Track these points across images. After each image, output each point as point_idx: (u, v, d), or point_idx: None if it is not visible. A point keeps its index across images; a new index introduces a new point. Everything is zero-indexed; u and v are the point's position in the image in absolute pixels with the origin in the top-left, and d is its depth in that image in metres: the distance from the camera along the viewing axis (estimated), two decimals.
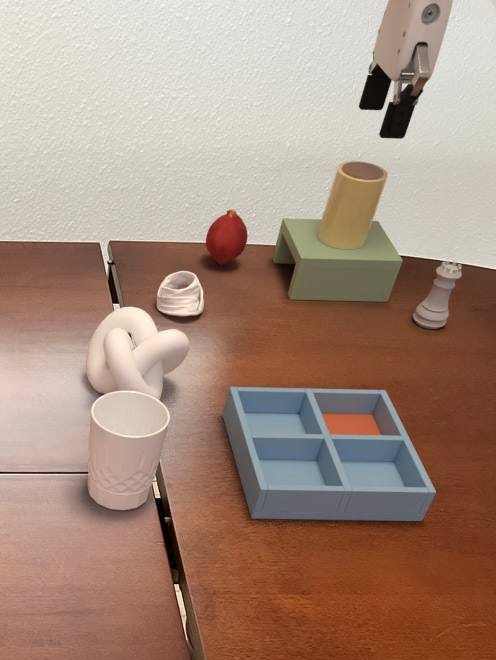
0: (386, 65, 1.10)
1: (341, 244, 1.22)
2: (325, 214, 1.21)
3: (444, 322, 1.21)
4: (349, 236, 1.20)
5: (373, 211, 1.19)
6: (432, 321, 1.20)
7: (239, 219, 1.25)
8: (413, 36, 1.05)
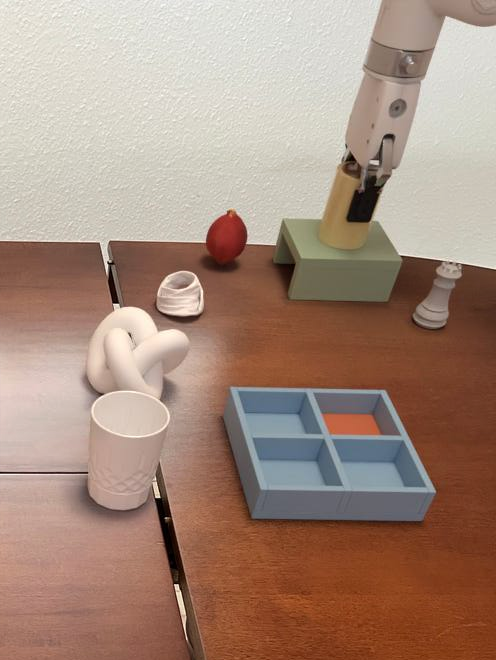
0: (356, 152, 1.14)
1: (341, 244, 1.22)
2: (325, 214, 1.21)
3: (444, 322, 1.21)
4: (349, 236, 1.20)
5: None
6: (432, 321, 1.20)
7: (239, 219, 1.25)
8: (381, 128, 1.09)
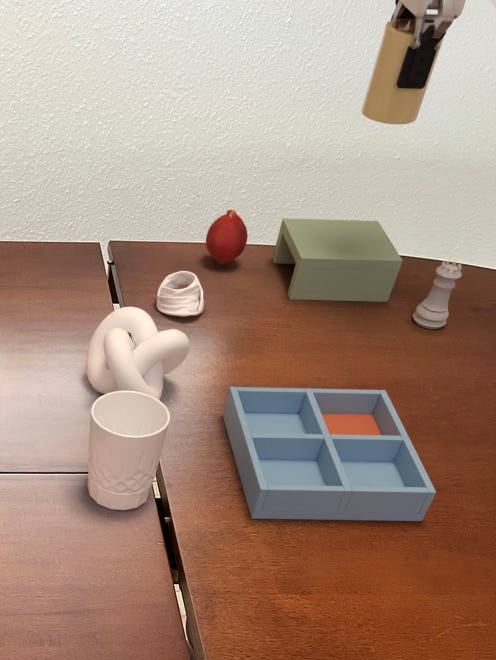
0: (410, 1, 0.98)
1: (389, 117, 1.06)
2: (371, 83, 1.05)
3: (444, 322, 1.21)
4: (399, 106, 1.04)
5: None
6: (432, 321, 1.20)
7: (239, 219, 1.25)
8: None
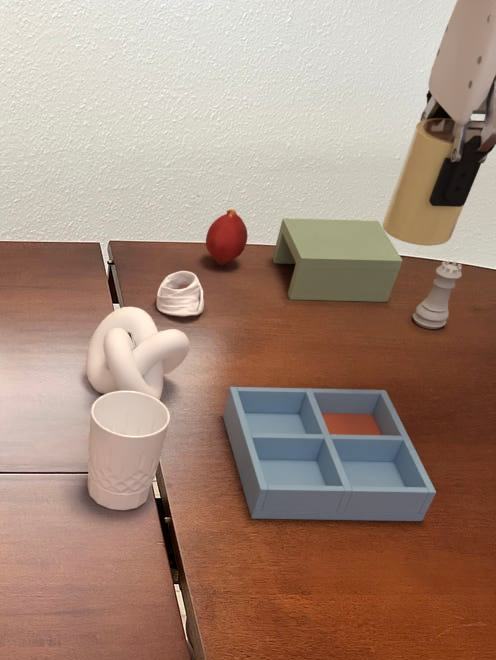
0: (449, 102, 0.78)
1: (419, 238, 0.85)
2: (396, 195, 0.85)
3: (444, 322, 1.21)
4: (431, 226, 0.84)
5: None
6: (432, 321, 1.20)
7: (239, 219, 1.25)
8: (493, 63, 0.73)
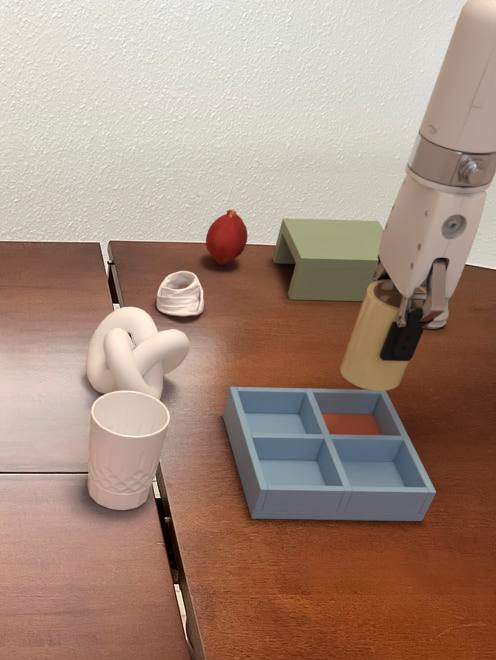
0: (395, 275, 0.86)
1: (371, 384, 0.94)
2: (350, 346, 0.94)
3: (444, 322, 1.21)
4: (382, 375, 0.93)
5: None
6: (432, 321, 1.20)
7: (239, 219, 1.25)
8: (431, 251, 0.81)
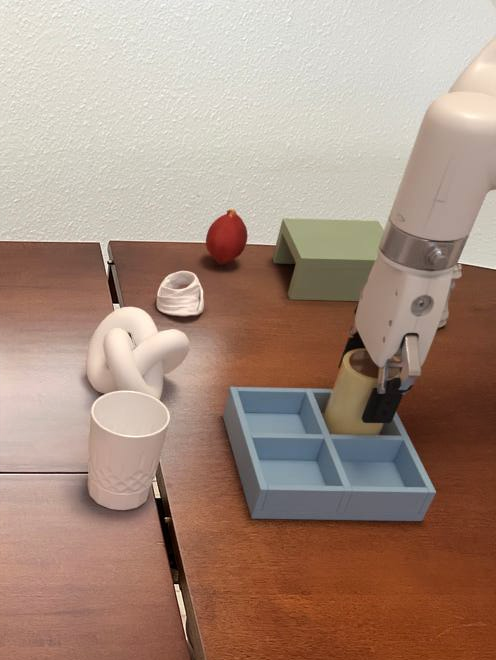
0: (369, 345, 0.92)
1: None
2: (328, 410, 1.00)
3: (444, 322, 1.21)
4: None
5: None
6: None
7: (239, 219, 1.25)
8: (401, 327, 0.87)
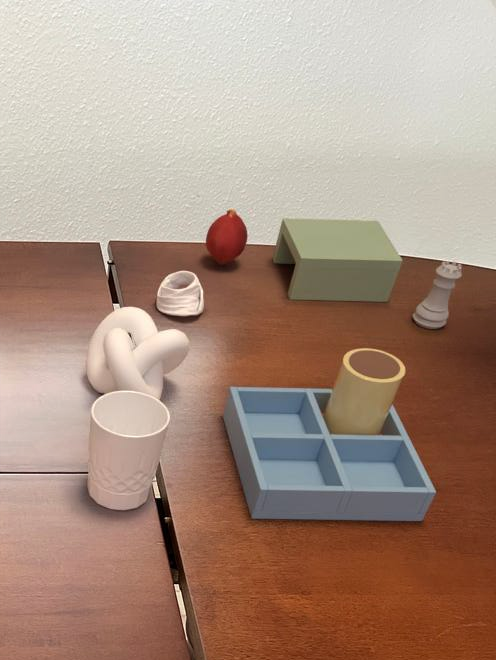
0: None
1: None
2: (328, 410, 1.00)
3: (444, 322, 1.21)
4: None
5: (387, 410, 0.97)
6: (432, 321, 1.20)
7: (239, 219, 1.25)
8: None
